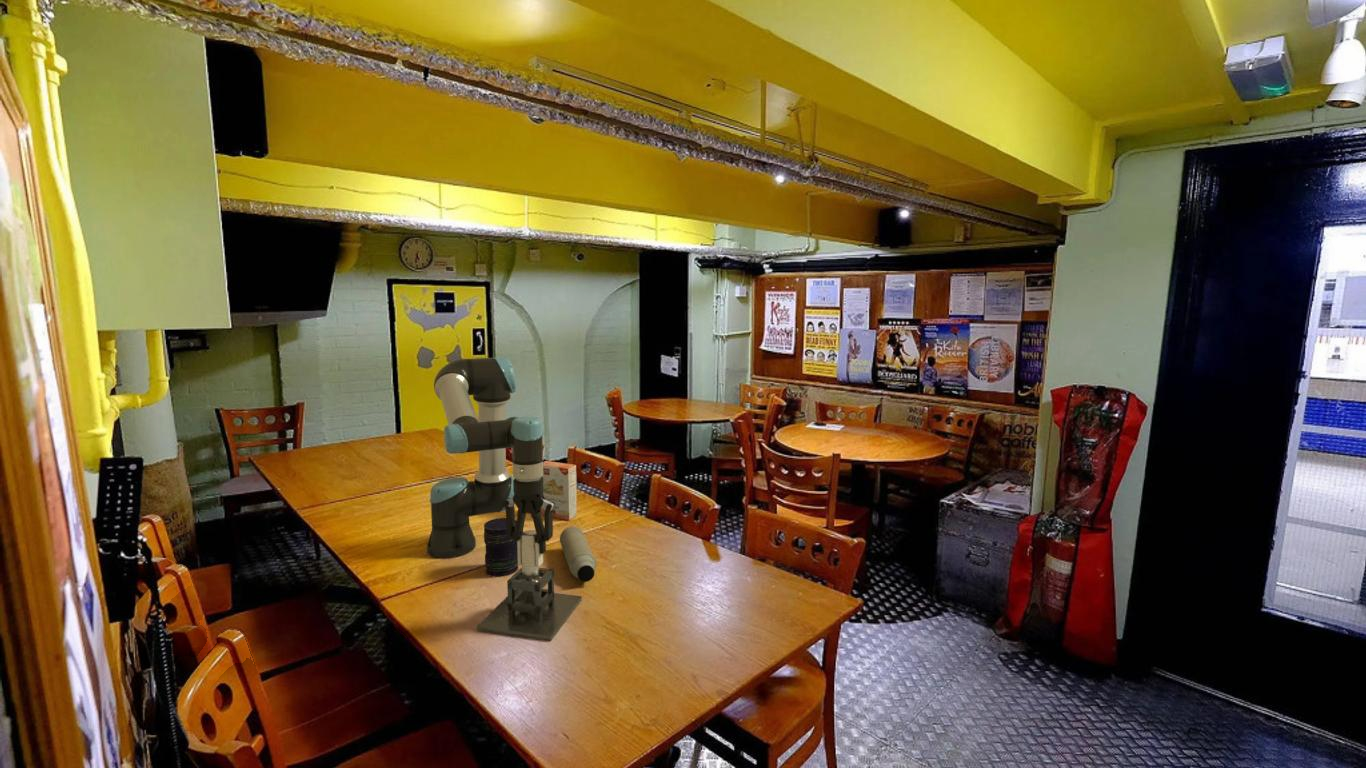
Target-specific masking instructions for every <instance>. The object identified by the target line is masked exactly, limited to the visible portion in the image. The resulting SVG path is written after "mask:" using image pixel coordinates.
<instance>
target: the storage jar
mask: <svg viewBox="0 0 1366 768" xmlns="http://www.w3.org/2000/svg"><path fill="white" fill-rule="evenodd" d="M516 521H517V519H515V526H516ZM483 528H484V529H483V530H484V532H483V538H484V539H483V541H484V545H485V554H484V564H485V574H487V576H489V575H490V576H489V577H493V576H494V577H493V578H501V577H502V576H503V577H507V576H510V575H514V574H515V573H516V572H517V571H518V570H519V565H518V551H515V544H514V539H513V538H512V537H508V536H507V526H506V517H497V518H493V519H490V520H488V521H486V522H485V523H484V524H483ZM503 577H502V578H503Z"/></svg>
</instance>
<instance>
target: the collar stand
mask: <svg viewBox="0 0 1366 768" xmlns="http://www.w3.org/2000/svg"><path fill="white" fill-rule="evenodd" d="M554 575H555V569H554V568H547V567H539V576H540V579H539V580H538V581H537V582H533V581H525V580H522V567H520V569H518V570H517V571H516V572H515V573H513V574H512V576H511V577H510V578H509V579H507V581H506V582H507V583H506V585H507V596H506V597H505V598H504V599H503V600H502V601H501V602H499V604H498V605H497V606H496V607H495V608H494V609H493V610H492V611H491V612H490V613H489V614H488V615H487V616H486V617H485V618H484V619H483V620H481V622H479V624H478V625H477V626H476V631H477V632H484V633H491V634H499V635H505V636H512V637H520V638H527V639H535V640H542V641H549V642H551V641H552V640H553V639H554V638H555V636H556V635H557V634H558V632H559V631H560V630H561V628H562V627H563V625H564V624H565V623H566V622H567V620H568V619H569V618H570V616H571V615H572V614H573V612H574V611H575V610H576V609H577V607H578V606H579V605H580V603H581V602H582V601H583V599H582V598H583V597H582V595H575V594H567V593H559V592H558V593H557V592H555V576H554ZM546 585H547V589H546V588H544V587H546ZM523 590H526V591H535V603H527V602H523Z"/></svg>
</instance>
